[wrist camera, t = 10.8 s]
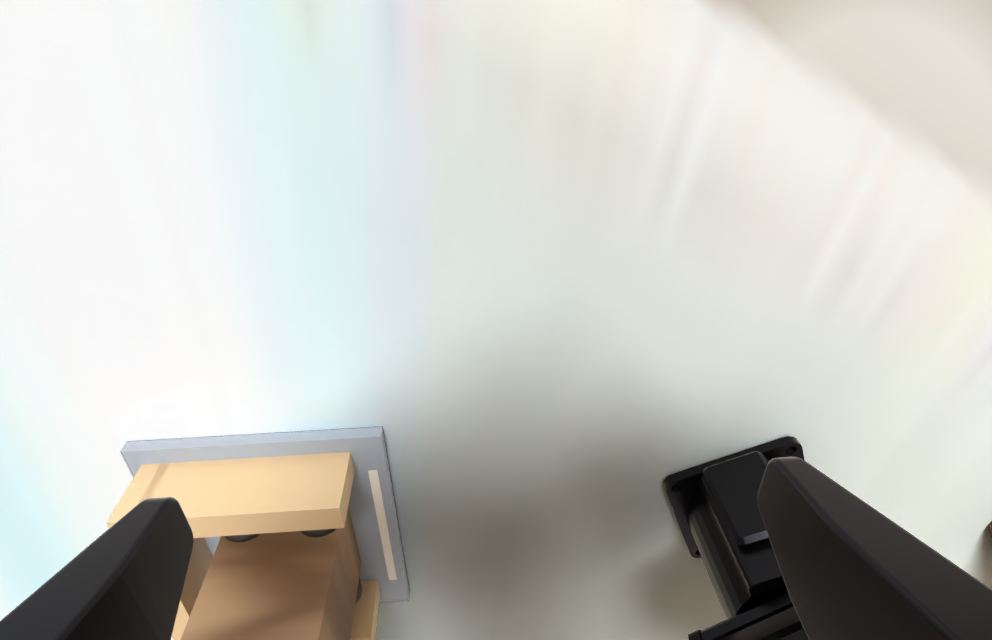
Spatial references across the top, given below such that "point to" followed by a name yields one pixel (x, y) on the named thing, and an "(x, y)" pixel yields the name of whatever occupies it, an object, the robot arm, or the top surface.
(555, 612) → the top surface
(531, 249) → the top surface
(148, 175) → the top surface
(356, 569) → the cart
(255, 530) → the dock
